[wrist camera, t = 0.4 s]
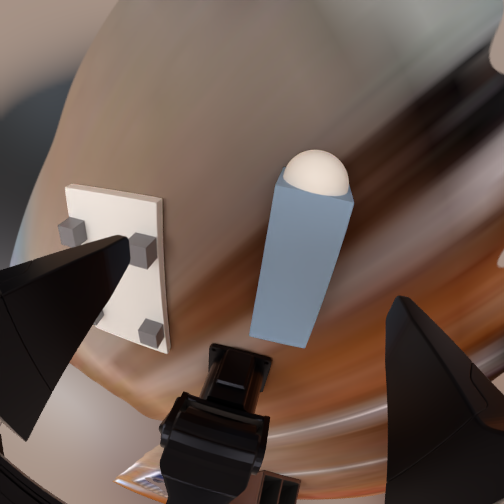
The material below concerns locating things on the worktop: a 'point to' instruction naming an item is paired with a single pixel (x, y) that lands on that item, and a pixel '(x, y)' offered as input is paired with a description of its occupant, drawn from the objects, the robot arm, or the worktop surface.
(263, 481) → the letter holder
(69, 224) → the cradle
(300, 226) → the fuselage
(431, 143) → the worktop surface
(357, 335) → the worktop surface
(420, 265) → the worktop surface
